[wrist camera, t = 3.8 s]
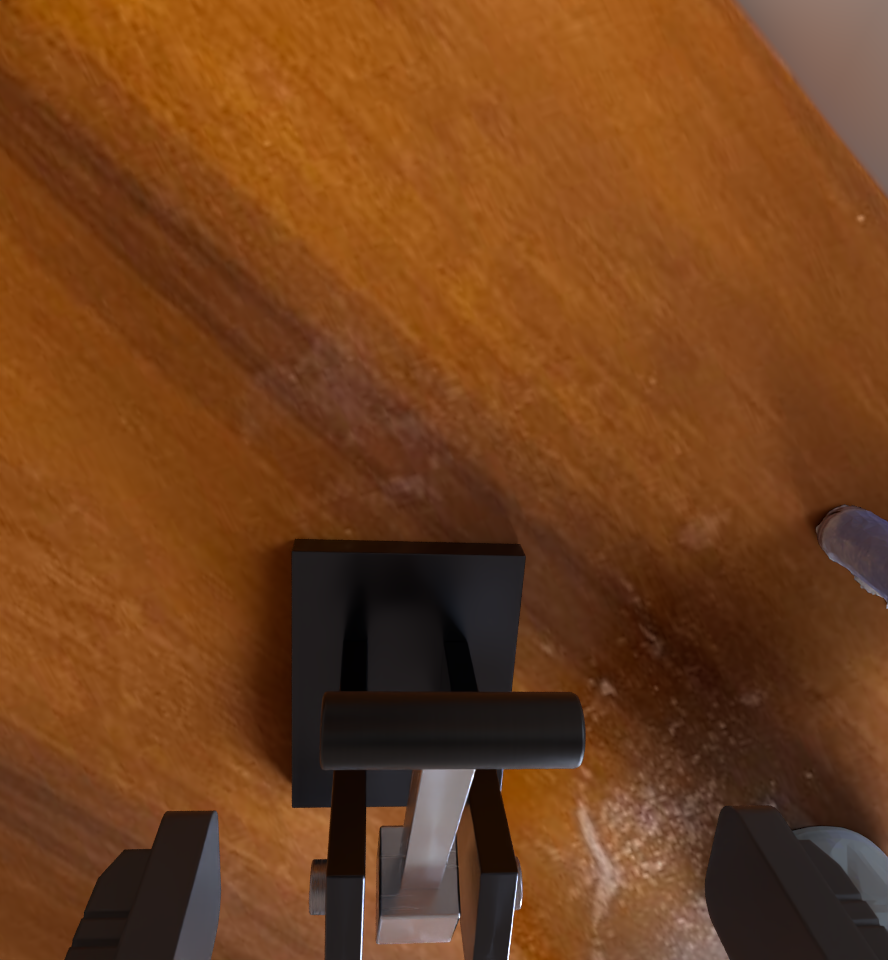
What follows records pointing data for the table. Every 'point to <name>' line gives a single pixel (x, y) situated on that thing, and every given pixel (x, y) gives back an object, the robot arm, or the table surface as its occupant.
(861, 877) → the grey hollow tapered cylinder
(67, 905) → the table surface
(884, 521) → the blue squeeze pouch
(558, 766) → the lever
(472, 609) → the bracket
